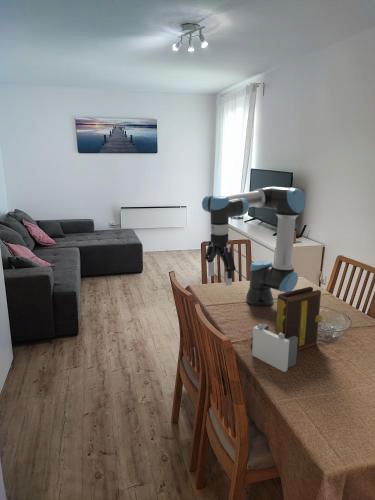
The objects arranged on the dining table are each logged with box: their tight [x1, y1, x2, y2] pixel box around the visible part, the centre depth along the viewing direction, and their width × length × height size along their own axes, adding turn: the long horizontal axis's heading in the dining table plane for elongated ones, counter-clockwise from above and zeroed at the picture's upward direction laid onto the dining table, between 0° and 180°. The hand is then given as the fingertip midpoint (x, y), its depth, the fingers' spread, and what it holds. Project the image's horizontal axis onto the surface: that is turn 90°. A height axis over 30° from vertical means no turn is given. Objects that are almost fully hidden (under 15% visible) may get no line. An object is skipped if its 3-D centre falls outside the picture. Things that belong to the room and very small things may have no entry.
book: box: [275, 286, 323, 352], centre depth 157 cm, size 22×8×25 cm, turn 117°
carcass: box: [251, 323, 298, 373], centre depth 148 cm, size 8×16×15 cm, turn 40°
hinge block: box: [250, 334, 253, 346], centre depth 162 cm, size 4×4×4 cm
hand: (219, 280), depth 161 cm, fingers open, 13 cm apart
